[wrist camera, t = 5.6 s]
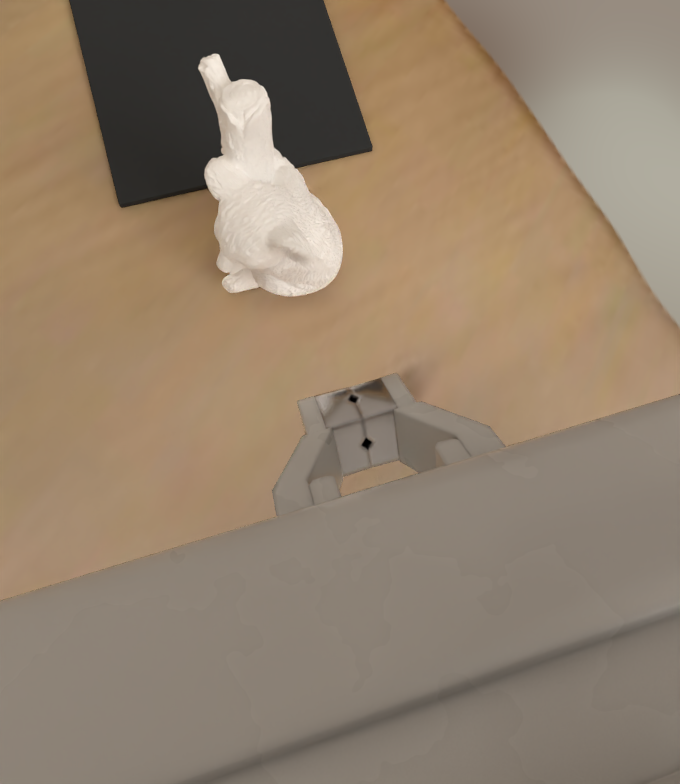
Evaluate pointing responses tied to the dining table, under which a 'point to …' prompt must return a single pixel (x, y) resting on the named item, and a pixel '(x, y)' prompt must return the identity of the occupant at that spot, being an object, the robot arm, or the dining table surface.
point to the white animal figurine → (263, 199)
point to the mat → (189, 92)
